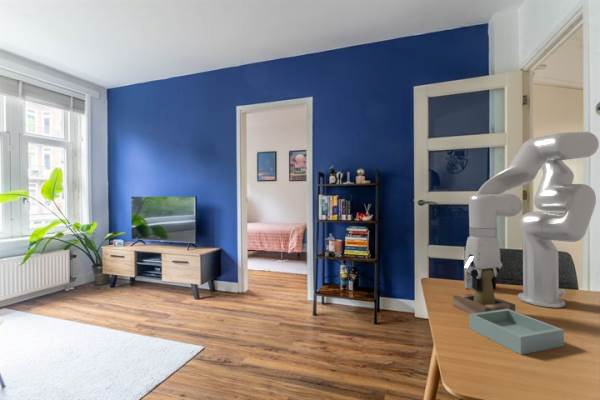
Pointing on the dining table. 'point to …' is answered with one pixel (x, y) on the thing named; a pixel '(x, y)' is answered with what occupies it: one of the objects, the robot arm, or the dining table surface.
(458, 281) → the dining table surface
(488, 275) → the cork
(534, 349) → the tray
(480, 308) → the socket
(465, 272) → the coffee box
